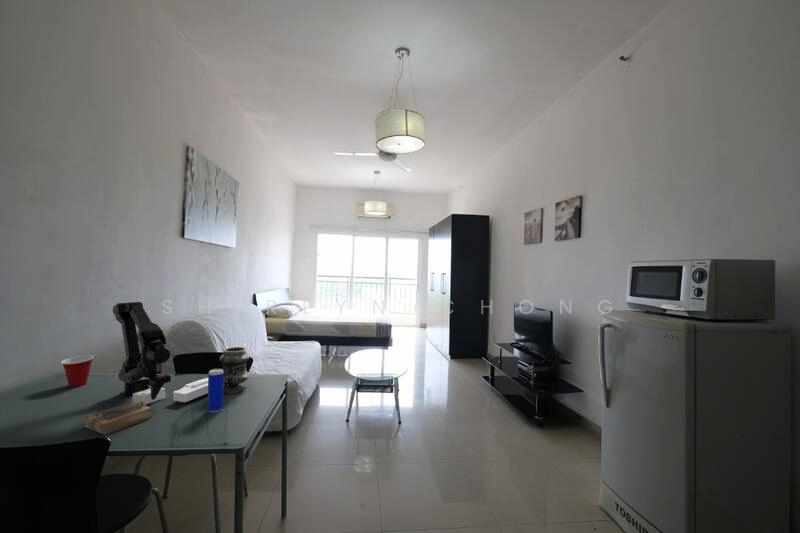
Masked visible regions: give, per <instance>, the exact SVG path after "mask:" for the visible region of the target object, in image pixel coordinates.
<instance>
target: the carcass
mask: <svg viewBox="0 0 800 533" xmlns="http://www.w3.org/2000/svg"><path fill="white" fill-rule="evenodd" d="M152 417H153V407H151V406H147V404H146V405H144V401H140V404H138V403H135V402H133V401H131V402H127V403H124V404H120V405H117V406H114V407H111V408H108V409H104V410H102V411H99V412H95V413H91V414H88V415H86V416H85V417H84V427H85V428H87V429H89V430H92V431H94V432H97V433H99V434H102V435H104V436H105V435H109V434H111V433H113V432H116V431H119V430H122V429H125V428H126V427H130V426H133V425H135V424H138V423H142V422H144V421H146V420H149V419H151V418H152Z"/></svg>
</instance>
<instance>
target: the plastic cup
mask: <svg viewBox="0 0 800 533" xmlns="http://www.w3.org/2000/svg"><path fill="white" fill-rule="evenodd" d="M94 357H95V355H92V354H87V355H86V354H85V355H76V356H73V357H68V358H65V359H62V360H61V361H60V364H62V366H63V368H64V372H65V378H66V380H67V385H68V387H69V388H75V387H81V386H85V385H87V382H88V379H89V376H90V371H91V365H92V362H93V359H94Z"/></svg>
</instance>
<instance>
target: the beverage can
mask: <svg viewBox="0 0 800 533" xmlns="http://www.w3.org/2000/svg"><path fill="white" fill-rule="evenodd" d="M207 378H208V393H207V411H208V412H209V413H218V412H221V411H222V410H223V408H224V393H223V388H224V387H225V385H224V371H223V368H213V369H211V370H209V371H208V374H207Z"/></svg>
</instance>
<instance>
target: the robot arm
mask: <svg viewBox="0 0 800 533" xmlns="http://www.w3.org/2000/svg"><path fill="white" fill-rule="evenodd" d="M112 313H113V315H114V317H115V320H116V321H117V322H118V323H120V324H121V330H122V336H123V338H122V339H123V344H124V351H125V358H124V360H123V361H122V365H121V366H122V367H121V369H120V371H119V373H118V380H119V381H122V382H124V385H123V386H124V389H123V390H124V391H123V390H122V391H120V392H119V394H120V395H124V396H128V397H130V396H133V394H134V393H137V392H140V391H143V390H147V389H151V398H152V400H154V399H155V398H156V397H157V395H158V393H159V391H160V389H161V388H163V387H164V385H165V384H167V383H171V381H172V376H171V375H170V374H168V373H162V371H161V370H159V365H160V364H161V365H162V364H164V363H166V362H167V361H169V359H170V357H171V352H170V350H169V349H167V348H165V347H166V346H165V345H167V338H166V336H165V334H164V332H163V331H164V330H162V329H161V327H160V326H159V325H158V324H157V323H155V322H152V320H151V319H150V316H148V314H147V312H146V310H145V308H144V304H143V302H142V301H141V302H140V301H132V302H117V303H116V304H115V305H114V306H113V308H112ZM137 329H138V331H137Z"/></svg>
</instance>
